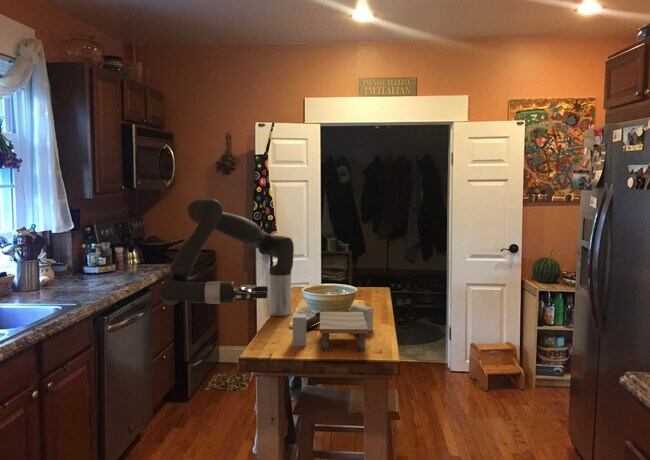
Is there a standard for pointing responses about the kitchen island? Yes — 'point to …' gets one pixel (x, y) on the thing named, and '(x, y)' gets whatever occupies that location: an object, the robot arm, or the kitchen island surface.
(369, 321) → the medicine box
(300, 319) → the upright block
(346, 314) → the peg shelf
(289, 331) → the kitchen island surface
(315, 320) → the hand tool
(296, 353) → the kitchen island surface
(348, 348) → the kitchen island surface
